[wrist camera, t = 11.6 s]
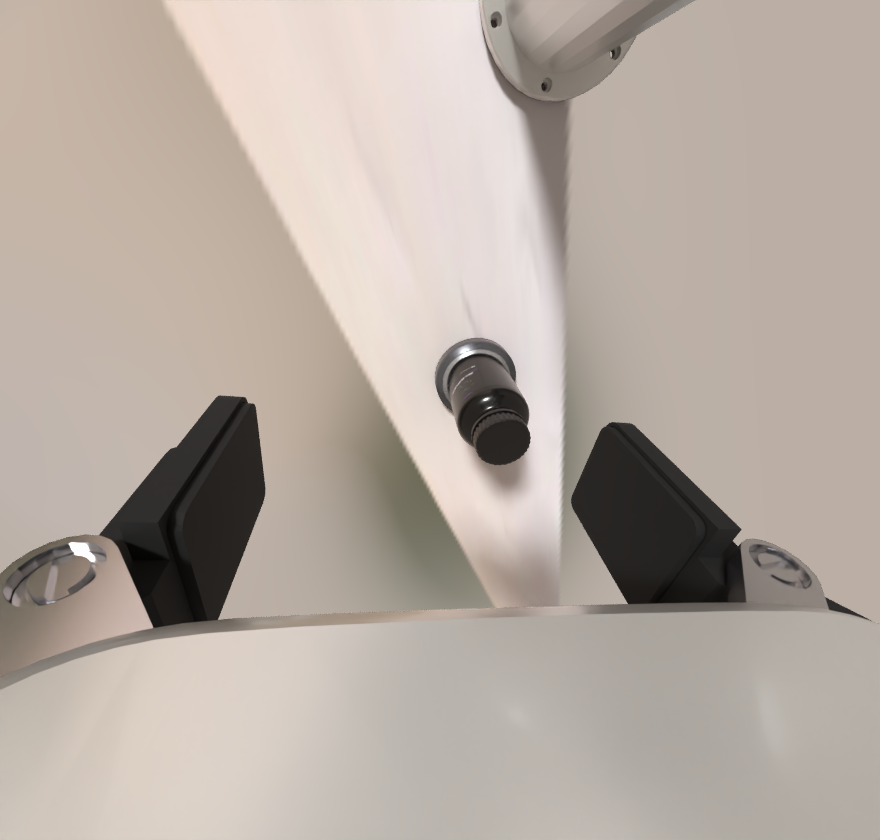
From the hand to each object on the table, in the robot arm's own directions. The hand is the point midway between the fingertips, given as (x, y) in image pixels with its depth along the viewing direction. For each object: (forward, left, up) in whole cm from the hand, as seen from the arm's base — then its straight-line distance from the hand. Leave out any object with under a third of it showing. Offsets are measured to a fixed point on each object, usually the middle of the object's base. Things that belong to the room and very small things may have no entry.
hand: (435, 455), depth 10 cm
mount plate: (+11, +9, -30) cm, 34 cm away
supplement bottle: (+11, +9, -29) cm, 32 cm away
